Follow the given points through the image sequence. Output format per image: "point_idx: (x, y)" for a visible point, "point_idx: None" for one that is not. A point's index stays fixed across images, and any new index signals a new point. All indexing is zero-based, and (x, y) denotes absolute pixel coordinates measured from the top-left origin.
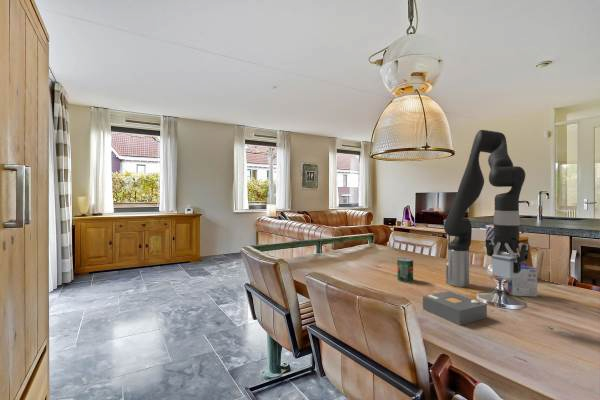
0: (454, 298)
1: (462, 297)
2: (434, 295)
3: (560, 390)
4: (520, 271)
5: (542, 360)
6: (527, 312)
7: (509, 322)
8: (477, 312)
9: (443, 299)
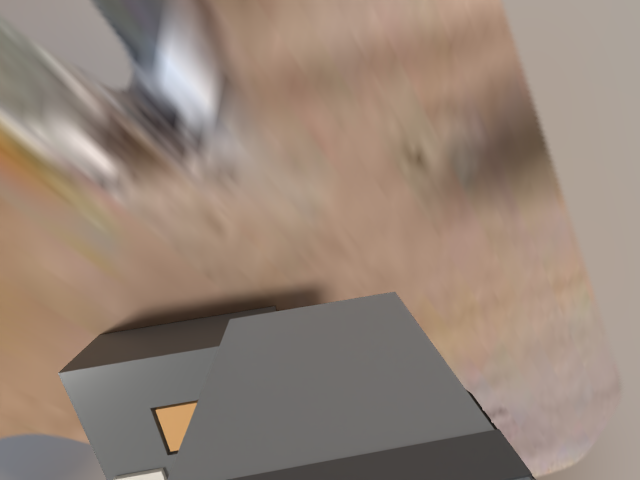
0: (169, 410)
1: (164, 372)
2: (116, 463)
3: (588, 435)
4: (414, 322)
5: (520, 376)
6: (271, 81)
7: (330, 260)
8: None
9: (174, 458)
